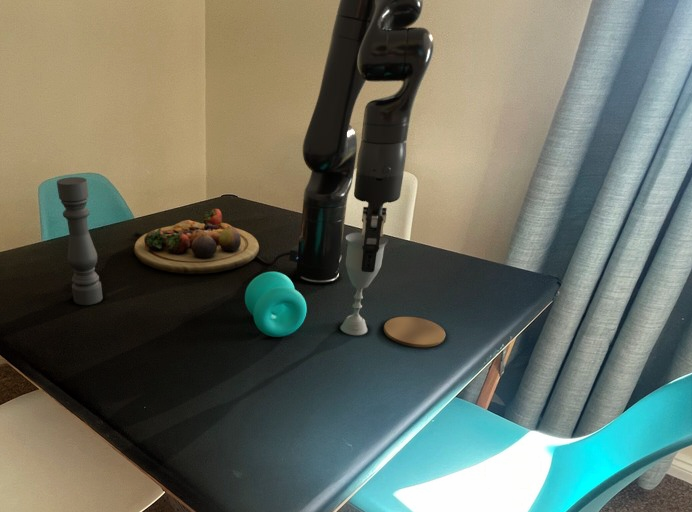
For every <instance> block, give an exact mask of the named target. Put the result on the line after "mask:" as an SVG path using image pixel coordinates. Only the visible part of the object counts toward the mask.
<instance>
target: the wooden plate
mask: <svg viewBox="0 0 692 512" xmlns="http://www.w3.org/2000/svg"><path fill="white" fill-rule="evenodd" d="M201 222H203V223H201ZM201 222H199V221H193V220H190V219H187V220H182V221H179V222H178V223H175V224H174V225H169V226H163V227H161V228H156V229H153V230H151V231H148V232H147V233H144V235H143V236H139V238H138V239H137V240H136V241H135V243H134V247H133V252H134V255H135V256H136V258H137V259H138V260H139V261H140V262H141V263H142V264H144V265H145V266H146V265H147V266H148V267H151V268H153V269H156V270H160V271H163V272H168V273H173V274H185V275H204V274H205V275H207V274H213V273H214V274H215V273H216V274H217V273H222V272H225V271H230V270H233V269H237V268H240V267H243V266H244V265H246V264H248V263H250V262H251V261H252V260H254V259H255V256H256V255H257V256H258V253H259V251H260V245H259V242H258V240H257V238H256V237H254V235H253V234H251V233H249V232H247V231H245V230H243V229H240V228H237V227H234V226H232V225H231V224H229V223H226V222H223V214H222V212H221V210H220V209H219V208H213V209H210V212H208V211H205V213H204V216H203V217H202V220H201Z"/></svg>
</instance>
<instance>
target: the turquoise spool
mask: <svg viewBox="0 0 692 512" xmlns="http://www.w3.org/2000/svg"><path fill="white" fill-rule="evenodd" d="M294 285H295V284H294V283H293V282H292V280H291V278H289V277H288V276H287V275H286V274H284V273H282V272H278V271H267V272H262V273H261V274H259V275H257V276H256V277H254V278H253V279H252V280H251V281H250V282H249V284H248V285H247V287H246V290H245V293H244V303H245V307H246V309H247V310H248V312H249V313H250V314H251V315H252V316H253V321H254V325H255V326H256V328H257V330H259V331H260V332H261V333H262V334H264V335H266V336H268V337H271V338H272V337H273V338H281V337H283V338H284V337H287V336H289V335H291V334H292V333H294V332H296V331H297V330H298V329H299V328H300V327H301V326H302V324H303V323H304V322H305V319H306V316H307V312H308V311H307V310H308V309H307V302H306V300H305V297H304V296H303V295H302V294H301V292H299V290H297V289H295V286H294Z"/></svg>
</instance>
